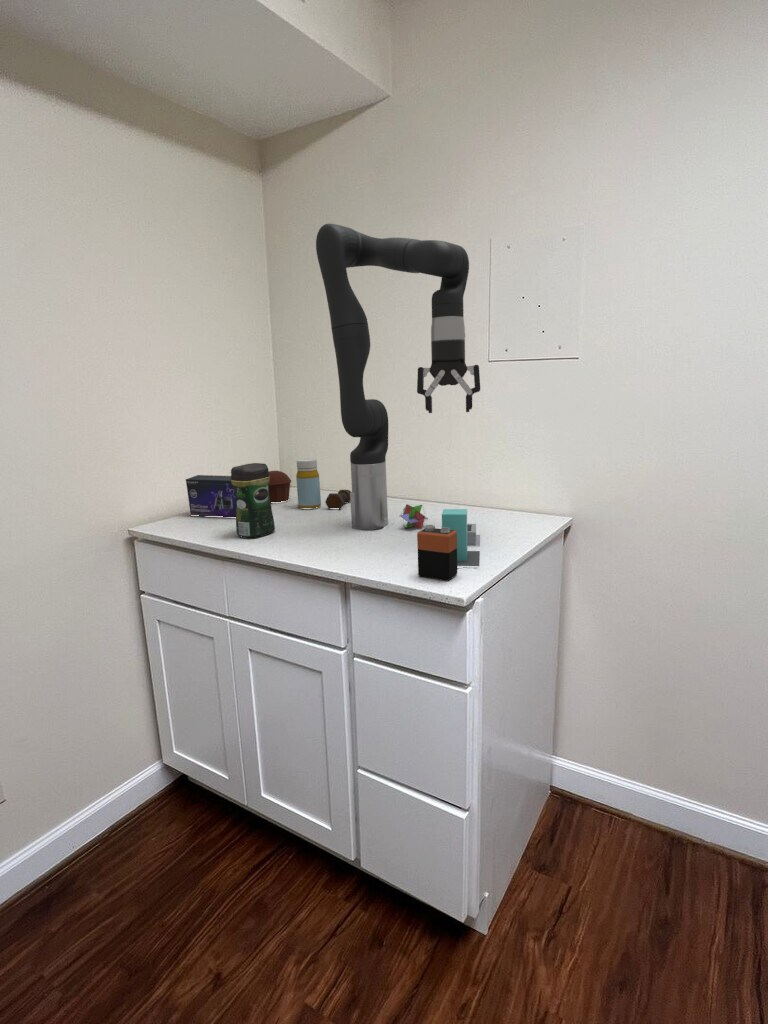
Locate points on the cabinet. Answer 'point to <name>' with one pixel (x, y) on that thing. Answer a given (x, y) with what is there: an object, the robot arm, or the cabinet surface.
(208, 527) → the cabinet surface
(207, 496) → the box
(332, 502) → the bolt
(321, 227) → the robot arm
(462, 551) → the teal block
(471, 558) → the mat
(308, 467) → the bottle
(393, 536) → the cabinet surface
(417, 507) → the geometric puzzle
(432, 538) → the battery
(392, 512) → the cabinet surface
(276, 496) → the muffin
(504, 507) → the cabinet surface
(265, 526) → the coffee jar
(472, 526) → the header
